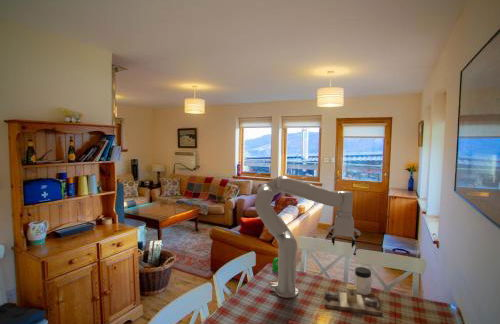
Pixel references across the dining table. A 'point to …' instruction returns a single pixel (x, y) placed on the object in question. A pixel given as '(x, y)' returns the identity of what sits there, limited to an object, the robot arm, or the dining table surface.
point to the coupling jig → (363, 303)
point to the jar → (362, 280)
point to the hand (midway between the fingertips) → (342, 245)
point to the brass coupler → (351, 293)
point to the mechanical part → (275, 265)
